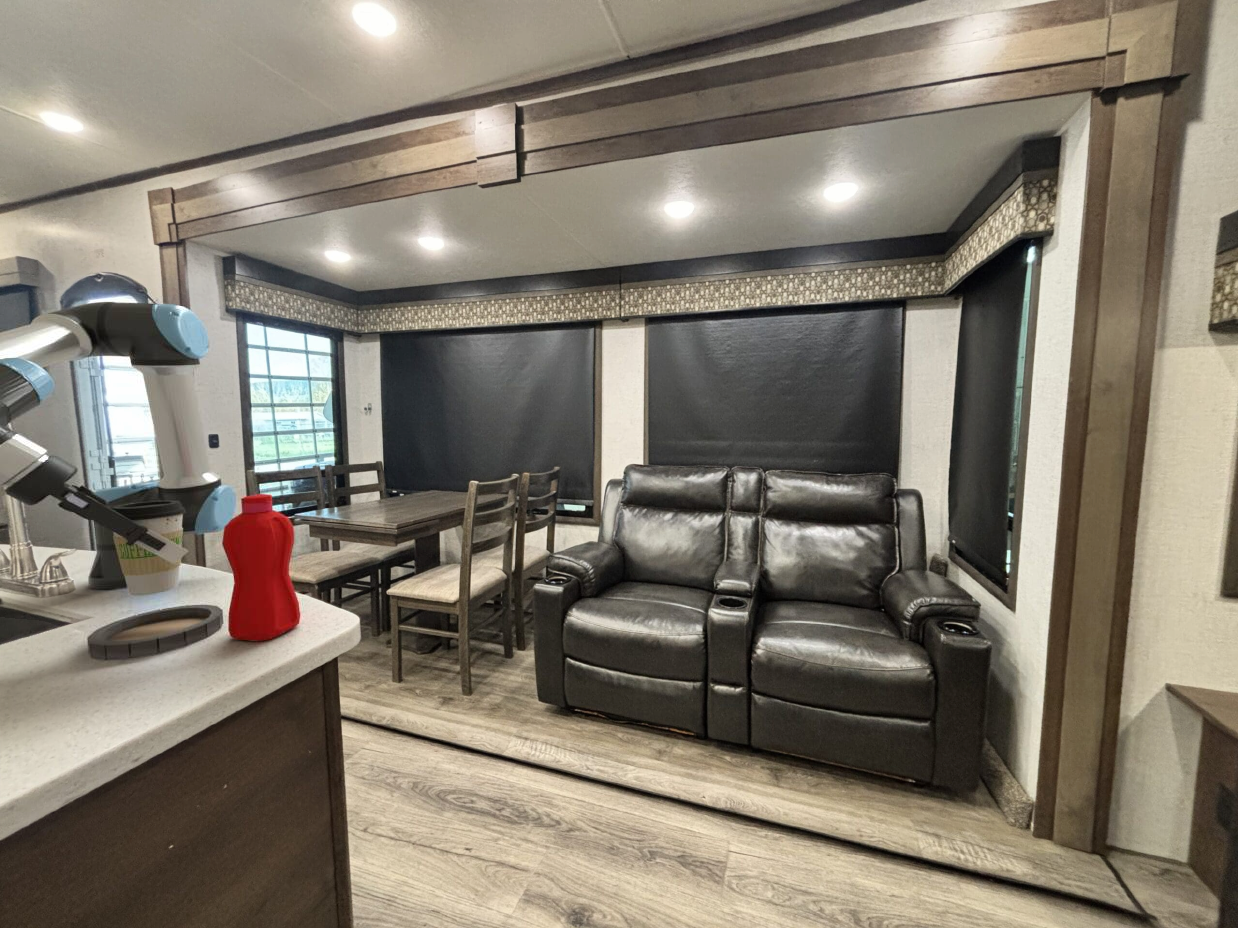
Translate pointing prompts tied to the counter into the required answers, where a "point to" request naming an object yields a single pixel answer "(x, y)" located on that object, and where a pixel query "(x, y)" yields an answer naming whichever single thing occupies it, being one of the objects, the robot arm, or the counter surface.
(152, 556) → the coffee cup
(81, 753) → the counter surface
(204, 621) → the round tray
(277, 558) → the red curved bottle
